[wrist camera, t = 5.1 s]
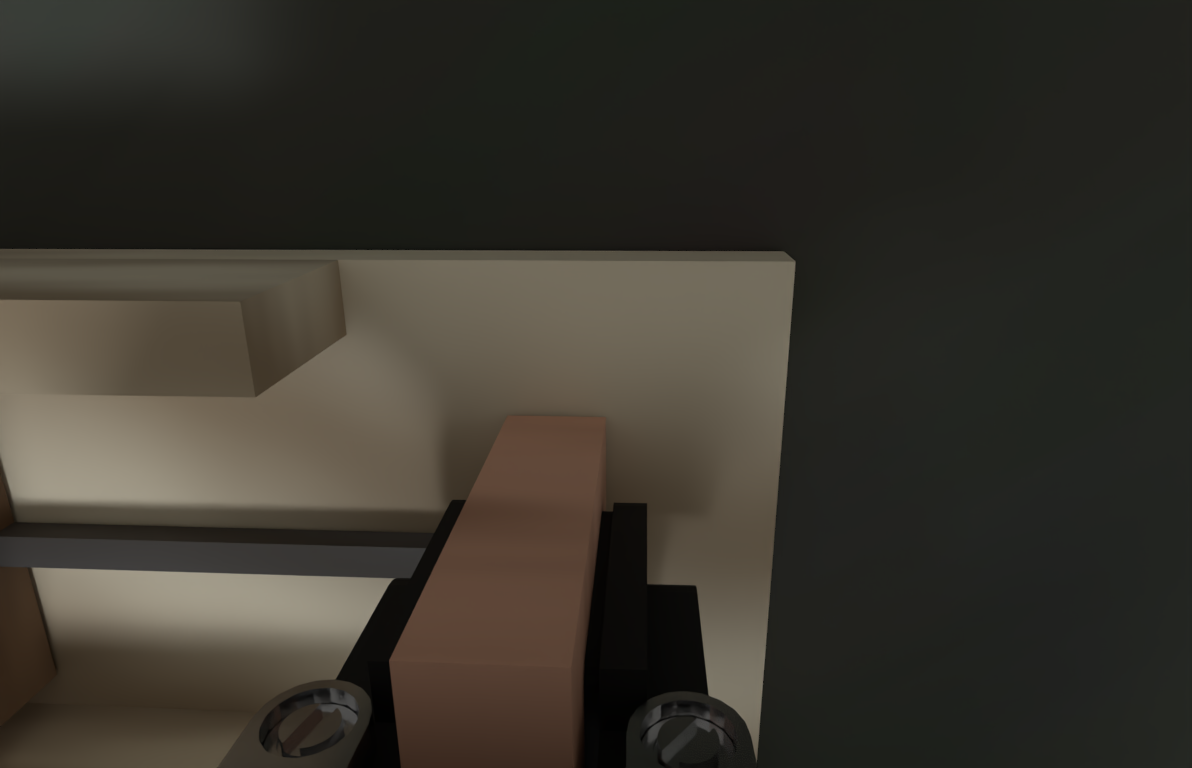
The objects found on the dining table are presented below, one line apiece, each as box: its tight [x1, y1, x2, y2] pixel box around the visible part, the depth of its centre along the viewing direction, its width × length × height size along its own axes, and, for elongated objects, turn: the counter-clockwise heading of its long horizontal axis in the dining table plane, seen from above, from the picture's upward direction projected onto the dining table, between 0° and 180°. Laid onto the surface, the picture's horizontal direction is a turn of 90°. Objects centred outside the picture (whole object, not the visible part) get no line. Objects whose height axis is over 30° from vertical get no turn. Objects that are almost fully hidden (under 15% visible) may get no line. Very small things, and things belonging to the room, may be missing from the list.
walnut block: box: [0, 415, 606, 768], centre depth 11 cm, size 6×17×6 cm, turn 91°
